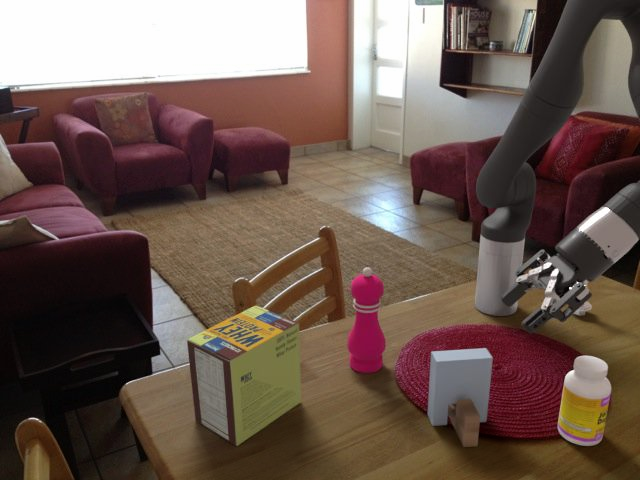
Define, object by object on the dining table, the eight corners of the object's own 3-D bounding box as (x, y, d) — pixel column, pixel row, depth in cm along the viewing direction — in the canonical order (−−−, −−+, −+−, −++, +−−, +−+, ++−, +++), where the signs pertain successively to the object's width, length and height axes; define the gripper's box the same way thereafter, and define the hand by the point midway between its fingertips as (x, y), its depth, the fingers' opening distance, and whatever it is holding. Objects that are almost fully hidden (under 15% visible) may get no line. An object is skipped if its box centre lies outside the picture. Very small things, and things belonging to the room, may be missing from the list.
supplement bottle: (598, 453, 92) (611, 380, 87) (552, 438, 95) (563, 367, 91) (605, 429, 97) (618, 359, 93) (561, 415, 100) (572, 347, 96)
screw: (567, 316, 133) (566, 306, 137) (591, 319, 131) (589, 310, 136) (575, 261, 128) (574, 253, 133) (600, 264, 127) (598, 255, 131)
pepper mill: (390, 359, 117) (393, 263, 110) (377, 378, 111) (379, 278, 104) (355, 351, 120) (356, 257, 113) (341, 369, 114) (341, 271, 107)
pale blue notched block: (432, 425, 98) (436, 361, 94) (427, 414, 101) (431, 351, 97) (486, 421, 99) (492, 357, 95) (480, 410, 102) (485, 347, 98)
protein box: (302, 401, 105) (300, 321, 100) (236, 448, 94) (229, 361, 89) (260, 380, 111) (255, 303, 106) (193, 421, 100) (184, 338, 95)
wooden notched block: (433, 384, 109) (435, 357, 107) (445, 383, 110) (447, 356, 108) (463, 447, 93) (466, 417, 92) (477, 446, 94) (480, 416, 92)
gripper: (560, 212, 97) (483, 281, 100) (607, 245, 84) (517, 323, 87) (587, 242, 99) (511, 308, 102) (637, 278, 86) (548, 353, 89)
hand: (514, 315), depth 94 cm, fingers open, 8 cm apart
